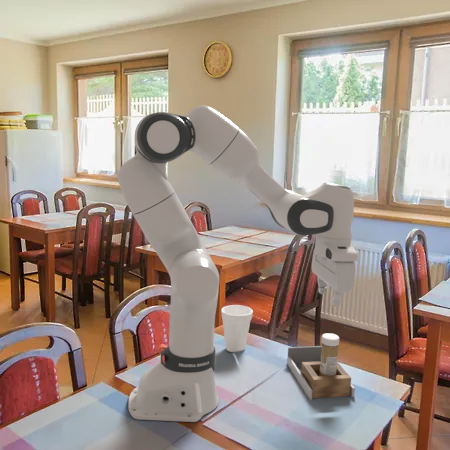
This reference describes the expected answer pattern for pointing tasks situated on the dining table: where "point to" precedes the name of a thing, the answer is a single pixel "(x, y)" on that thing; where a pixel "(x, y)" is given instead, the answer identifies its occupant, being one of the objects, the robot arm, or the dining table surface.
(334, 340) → the sprinkles bottle
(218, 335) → the dining table surface
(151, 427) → the dining table surface
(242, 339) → the cup
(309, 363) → the crate
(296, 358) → the bay
